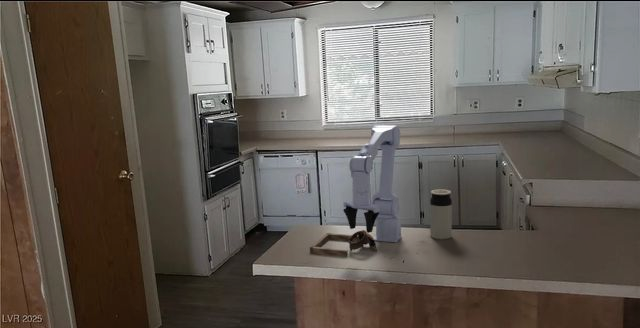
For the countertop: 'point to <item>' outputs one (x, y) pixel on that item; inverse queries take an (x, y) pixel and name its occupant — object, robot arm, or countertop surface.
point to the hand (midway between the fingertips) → (360, 230)
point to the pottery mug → (361, 240)
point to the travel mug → (440, 214)
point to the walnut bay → (329, 251)
